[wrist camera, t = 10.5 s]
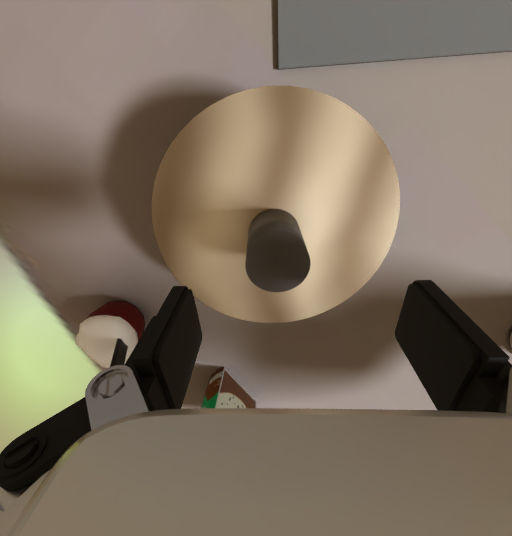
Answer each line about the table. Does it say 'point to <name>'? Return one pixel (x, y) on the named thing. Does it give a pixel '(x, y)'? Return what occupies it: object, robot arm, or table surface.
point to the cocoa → (111, 333)
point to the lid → (275, 204)
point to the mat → (389, 30)
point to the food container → (226, 392)
